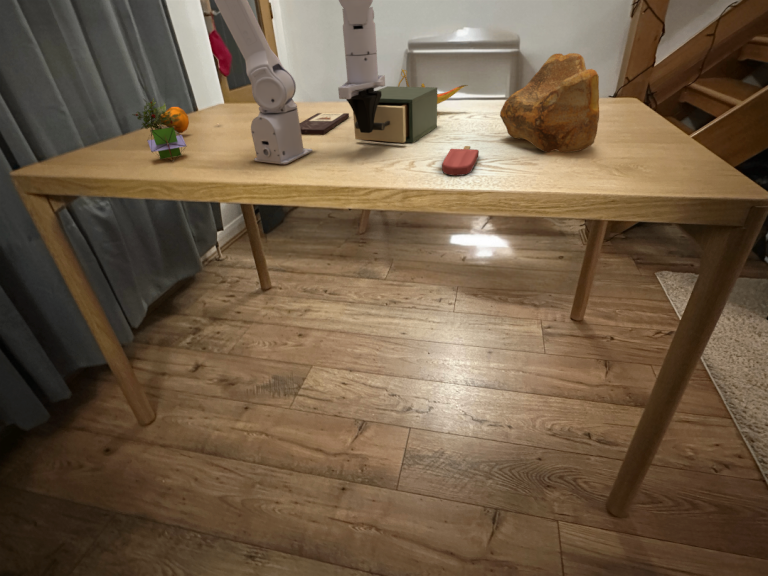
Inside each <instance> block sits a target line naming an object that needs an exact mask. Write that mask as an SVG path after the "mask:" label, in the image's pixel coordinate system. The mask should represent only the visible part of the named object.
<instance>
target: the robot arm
mask: <svg viewBox="0 0 768 576" xmlns="http://www.w3.org/2000/svg"><path fill="white" fill-rule="evenodd" d="M213 1H214V3H215V5H216V7H217V9H218V11H219V13H220V15H221V16H222V19H223V21H224V22H225V24H226V27H227V28H228V30H229V32H230V34H231V36H232V38H233V40H234V41H235V44H236V46H237V47H238V49H239V51H240V53H241V55H242V57H243V59H244V62H245V70H246V75H247V77H248V79H249V82H250V84H251V85H250V86H251V94H252V97H253V100H254V102H255V103H256V104H257V106H258V115H257V116H255V117H254V118H253V119H252V121H251V124H250V132H251V137H252V142H253V146H254V151H255V155H256V157H255V158H254V159H253V161H254V162H259V163H268V164H276V165H288V164H290V163H292V162H295V161H296V160H299V159H300V158H302V157H304V156H306V155H308V154H310V153H312V152H313V151H314V150H313V148H306V147H305V148H304V144H303V138H302V136H303V135H302V134H301V129H300V123H301V122H300V117H299V110H298V104H297V103H296V102H295V101H294V99H293V98H294V96H295V94H296V92H297V84H296V81H295V78H294V76H293V75H292V74H291V73H290V72H289V71H288V70H287V69H286V68H285V67H284V66H283V64H282V62H281V60H280V58H279V57H278V55H276V54H275V52H274V51H273V50H272V48H271V47H270V44H269V42H268V40H267V38H266V36H265V34H264V32H263V30H262V28H261V26H260V24H259V22H258V19H257V18H256V15H255V13H254V11H253V9H252V7H251V5H250V3H249V1H248V0H213ZM373 1H374V0H338V2H339V5H340V6H341V8H342V19H343V24H342V34H343V35H342V36H343V46H344V47H343V48H344V58H345V67H346V80H347V81H345V83H343V84H342V85H339V86H338V87H337V91H338V98H339V100H346V102H347V103H348V104H349V106H350V108H351V110H352V113H353V112H354V114H355V117H356V120H357V123H358V126H359V129H360V132H361V133H370V132H372V130H373V125H374V118H375V113H376V109H377V106H378V103H379V100H380V98H381V91H377V90H375V89H377V88H381V87H382V88H384V87H386V76H385V75H384V74H381V75H380V74H378V73H379V71H378V52H377V51H378V50H377V34H376V23H375V22H374V19H375V11H374V7H373V6H372V4H373Z"/></svg>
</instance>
